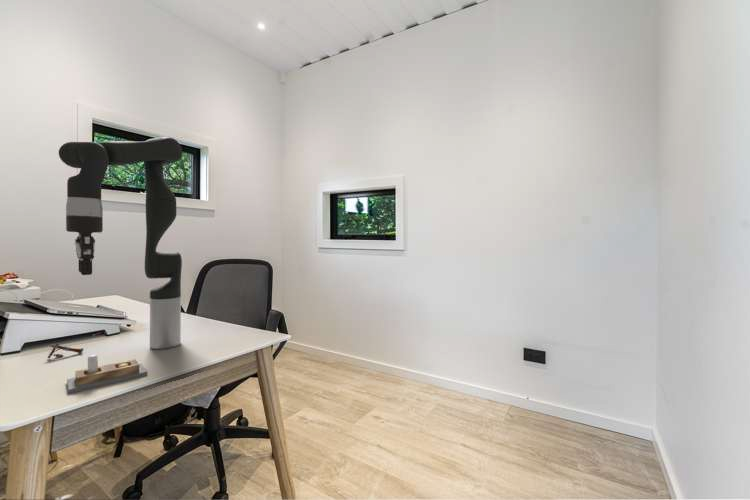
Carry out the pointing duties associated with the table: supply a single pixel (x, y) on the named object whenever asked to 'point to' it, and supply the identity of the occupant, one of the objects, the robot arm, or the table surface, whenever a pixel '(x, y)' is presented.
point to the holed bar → (106, 372)
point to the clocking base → (93, 369)
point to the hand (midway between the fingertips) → (85, 273)
